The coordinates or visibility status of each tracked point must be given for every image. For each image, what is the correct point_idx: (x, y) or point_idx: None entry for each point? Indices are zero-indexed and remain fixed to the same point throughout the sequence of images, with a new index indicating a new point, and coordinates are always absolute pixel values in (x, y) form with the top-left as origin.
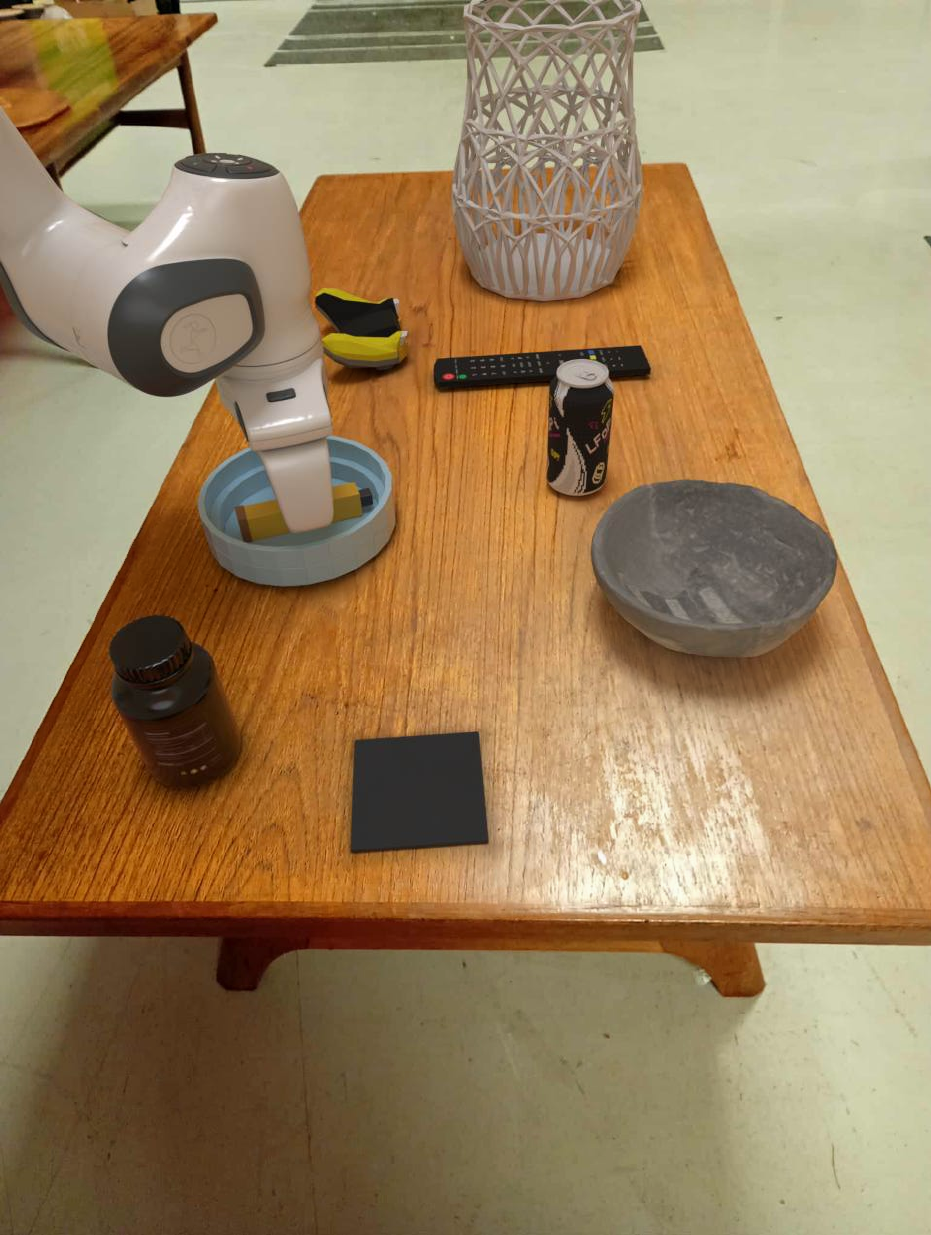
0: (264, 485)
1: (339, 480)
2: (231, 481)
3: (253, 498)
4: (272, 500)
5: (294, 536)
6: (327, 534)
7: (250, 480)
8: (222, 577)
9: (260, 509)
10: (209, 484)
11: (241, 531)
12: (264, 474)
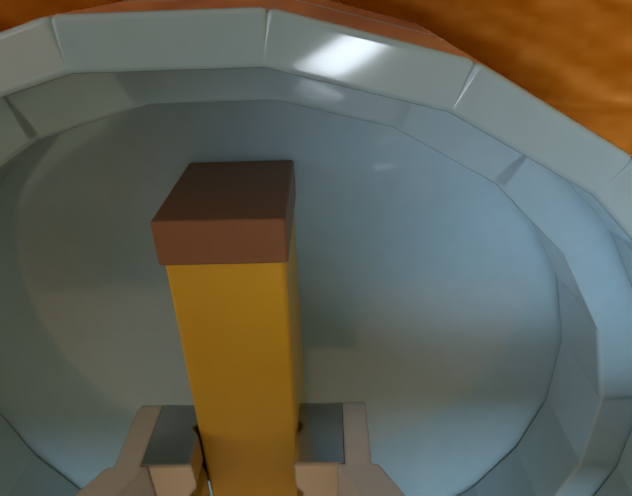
0: (560, 294)
1: (457, 491)
2: (590, 210)
3: (507, 236)
4: (288, 381)
5: None
6: None
7: (571, 281)
8: (2, 29)
9: (230, 329)
10: (482, 131)
11: (169, 194)
12: (586, 337)
